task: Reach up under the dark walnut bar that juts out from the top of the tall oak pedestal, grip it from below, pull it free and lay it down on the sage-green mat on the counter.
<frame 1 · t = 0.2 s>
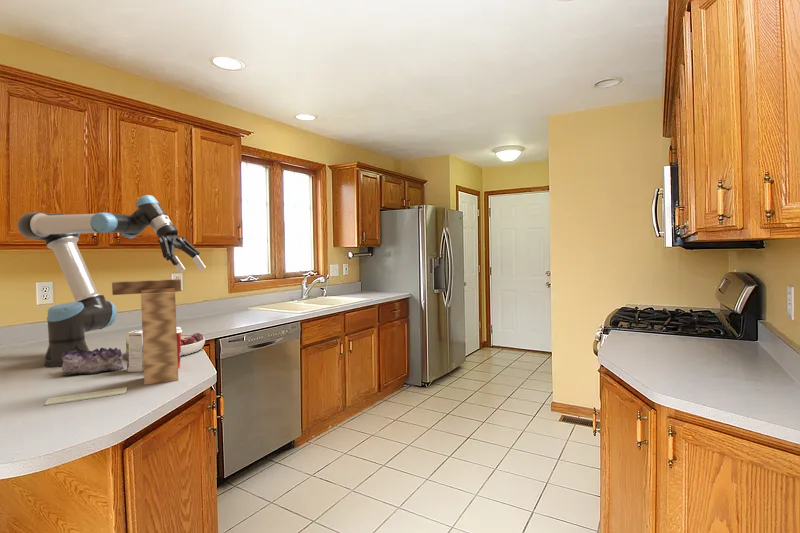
hand: (193, 270, 182), 36 cm above the worktop, fingers open, 13 cm apart
bowl: (167, 353, 194), on the worktop
syrup box: (138, 370, 165), on the worktop
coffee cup: (171, 368, 167), on the worktop
geode: (92, 372, 165), on the worktop
sage mat: (88, 396, 136), on the worktop
oak pedestal: (161, 378, 153), on the worktop
walnut bar: (148, 292, 151), point 30 cm above the worktop, touching oak pedestal
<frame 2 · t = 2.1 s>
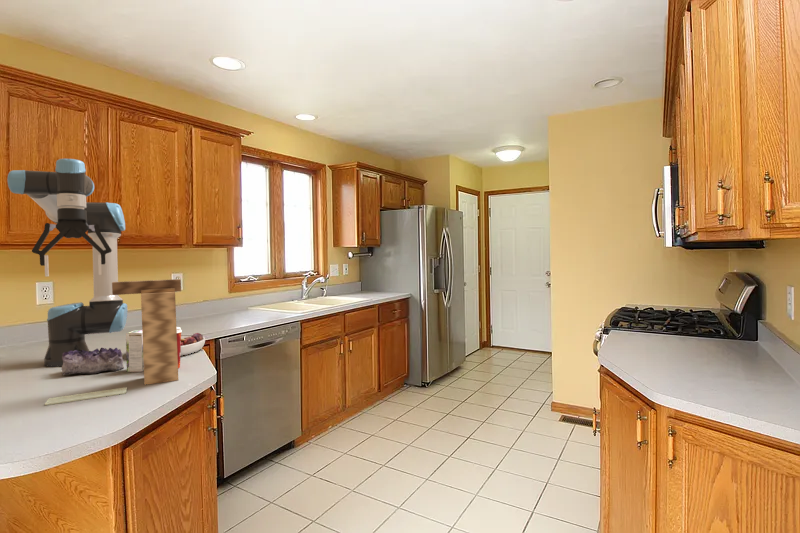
hand: (74, 275, 141), 37 cm above the worktop, fingers open, 13 cm apart
nothing on the worktop moved.
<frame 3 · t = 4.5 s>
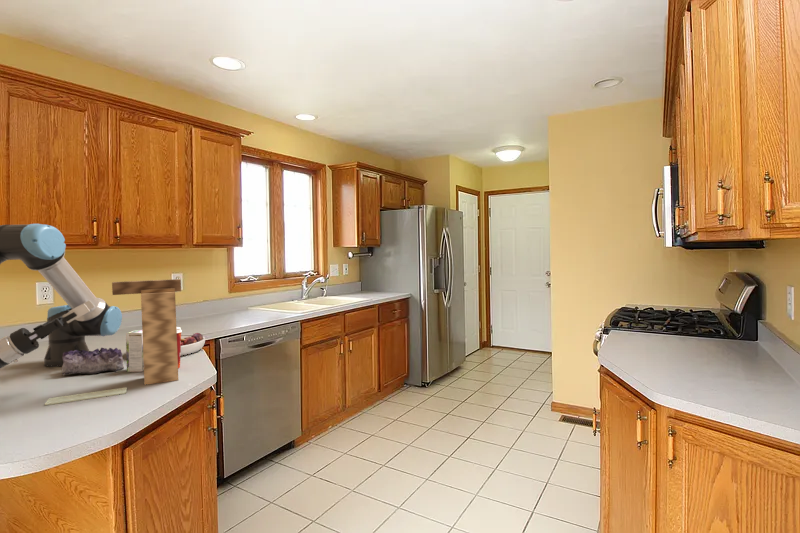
hand: (90, 305, 143), 27 cm above the worktop, fingers open, 13 cm apart
nothing on the worktop moved.
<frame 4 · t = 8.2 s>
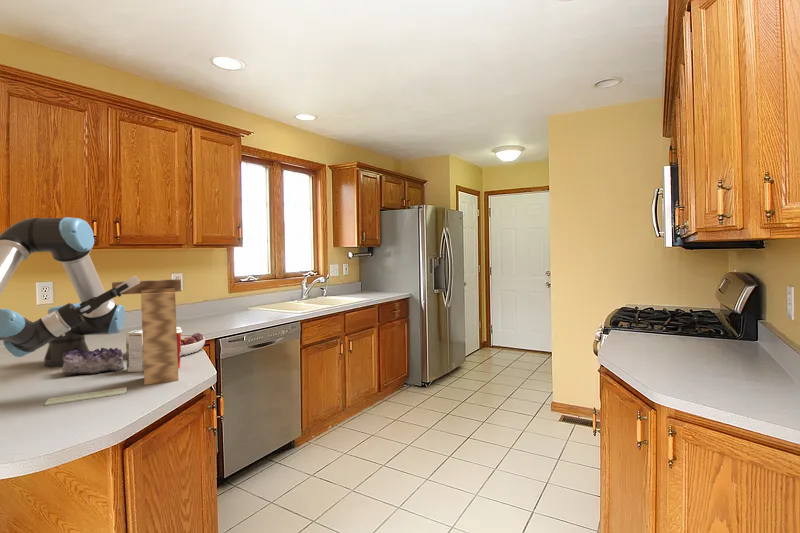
hand: (137, 279, 149), 35 cm above the worktop, fingers closed on walnut bar, 4 cm apart
walnut bar: (148, 292, 151), point 30 cm above the worktop, touching gripper, oak pedestal
everything else where it was.
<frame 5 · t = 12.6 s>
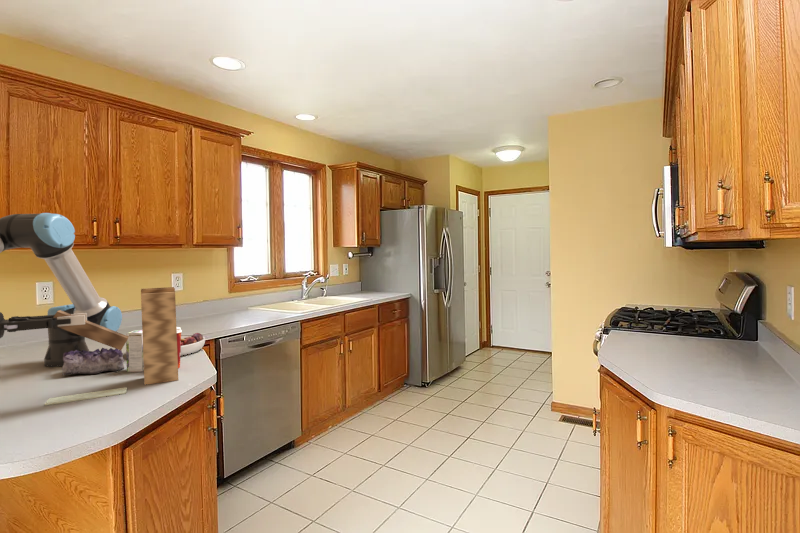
hand: (85, 318, 135), 24 cm above the worktop, fingers closed on walnut bar, 4 cm apart
walnut bar: (87, 336, 135), point 18 cm above the worktop, tilted 30°, touching gripper
everything else where it was.
when the fingers open (12 cm above the worktop, at t = 15.6 s): walnut bar drops 7 cm, resting on sage mat.
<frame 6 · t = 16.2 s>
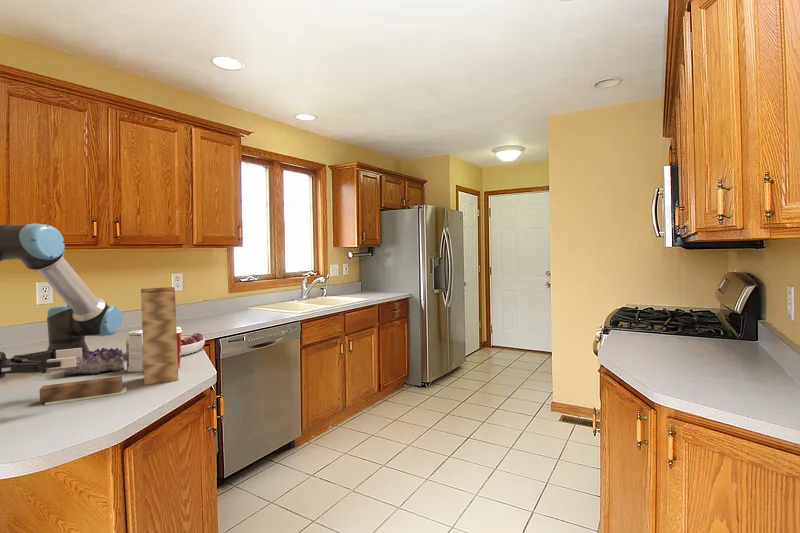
hand: (79, 356, 134), 12 cm above the worktop, fingers open, 13 cm apart
walnut bar: (83, 395, 136), resting on sage mat
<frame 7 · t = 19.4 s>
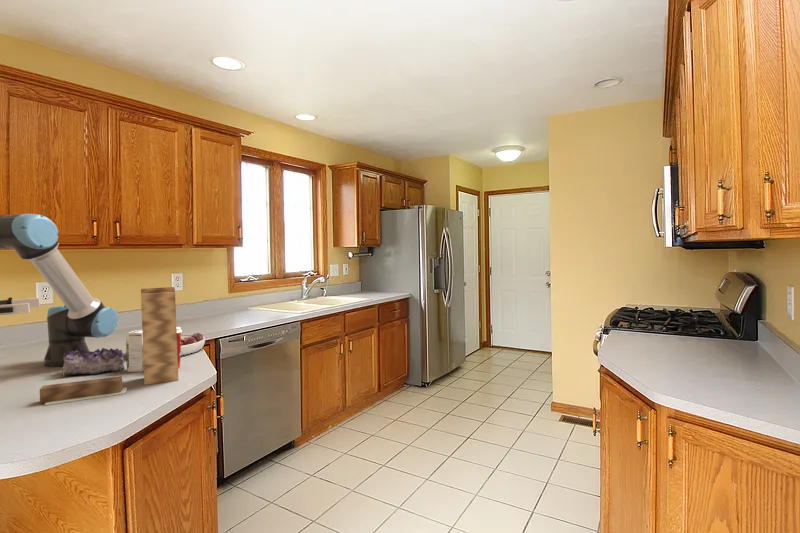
hand: (34, 305, 130), 29 cm above the worktop, fingers open, 13 cm apart
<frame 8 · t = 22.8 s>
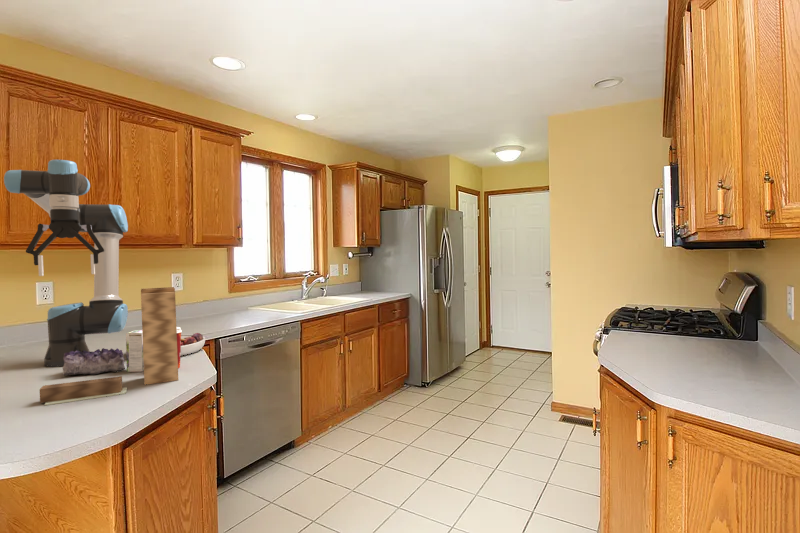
hand: (67, 275, 144), 37 cm above the worktop, fingers open, 13 cm apart
at the end: walnut bar inside the target area (1.8 cm from its centre), resting on sage mat; the gripper is holding nothing; walnut bar touching sage mat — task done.
